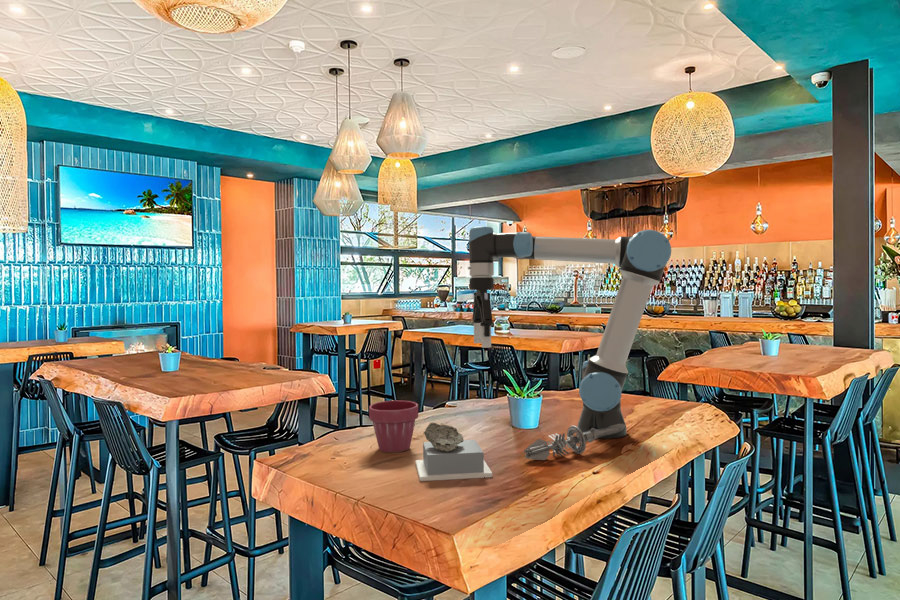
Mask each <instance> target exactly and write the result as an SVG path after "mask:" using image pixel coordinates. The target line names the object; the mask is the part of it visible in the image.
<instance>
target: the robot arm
mask: <svg viewBox="0 0 900 600" xmlns="http://www.w3.org/2000/svg"><path fill="white" fill-rule="evenodd" d="M468 238H469V239H468V248H469V250H468V253H469V256H468V257H469V266H467V270H469V276H470V278H469V290H472V291H475V290H476V291H475V292H473V306H472V307H473V308H472V318H471V320H472V322H473V343H474V344H481V348H483V349H484V348H488V349H489V348H492V325H493V323H494V322H493V315H492V314H493V313H492V306H491V305H492V303H491V293H490V292H488V290H489V291H490V290H493V289H494V287H495V285H494V283H495V282H494V278H493V276H494V275H495V270H494V269H495V268H494V267H495V263H494V258H514V259H516V260H538V261H539V260H540V261H541V260H542V261H559V262H560V261H561V262H573V263H574V262H577V263H594V264H599V263H600V264H611V265H612V264H613V265H614V264H615V266H616V267H617V268H619V273H620V274H621V277H622V278H621V281H620V285H619V287H618V289H617V290H618V291H617V292H616V296H615V299H614V303H613V305H612V307H611V311H610V314H609V317H608V319H607V323H606V326H605V329H604V331H603V334H602V336H601V340H600V343H599V345H598V348H597V352H596V354H595V355H593V356H591V357H589V359H588V360H585V361H583V362H582V367H581V370H582V380H581V381H580V383H579V385H578V392H579V397H580V399H581V401H582V410H581V413H580V415H579V416H580V417H579V420H578V422H577V427H578V428H579V429H580V430H581V431H582V433H583V432H588V431H590V430H591V428H595V429H603V428H608V427H610V426H612V425H616V424H625V428H624V429H623V430H621V431H620V432H617V433H613V434H610V435H605V436H601V437H598V438H597V439H604V440H605V439H611V440H612V439H619V438H623V437H625V436H627V424H626V422H625V419H624V415H623V413H622V408H621V407H622V405H621V402H622V399H621V398H622V395H623V394H622V393H623V388H624V385H625V382H626V379H627V377H628V374H629V371H628V368H627V367H626V363H627V360H628V357H629V354H630V353H631V352H630V351H631V349H632V346H633V343H634V340H635V338H636V334H637V331H638V328H639V325H640V323H641V321H642V320H641V319H642V317H643V314H644V311H645V309H646V305H647V303H648V300H649V297H650V295H651V292H652V288H653V286H656V285H658V284H660V283H661V280H662V277H663V275H664V271H665V268H666V266H667V264H668V262H669V261H670V259H671V256H672V245H671V242H670V241H669V239H668V237H667V236H666V235H665V234H663V233H661V232H660V231H657V230H656V229H643V230H639V231H638V232H635V234H633V235H632V236H618V238H617V239H615V238H614V239H613V238H612V239H610V238H590V237H589V238H586V237H584V238H583V237H581V238H580V237H558V236H556V237H555V236H533V235H532V233H531V232H528V231H516V232H499V233H498V232H495V231H494V228H493V227H491V226H474V227H471V228H470V229H469V236H468Z"/></svg>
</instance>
